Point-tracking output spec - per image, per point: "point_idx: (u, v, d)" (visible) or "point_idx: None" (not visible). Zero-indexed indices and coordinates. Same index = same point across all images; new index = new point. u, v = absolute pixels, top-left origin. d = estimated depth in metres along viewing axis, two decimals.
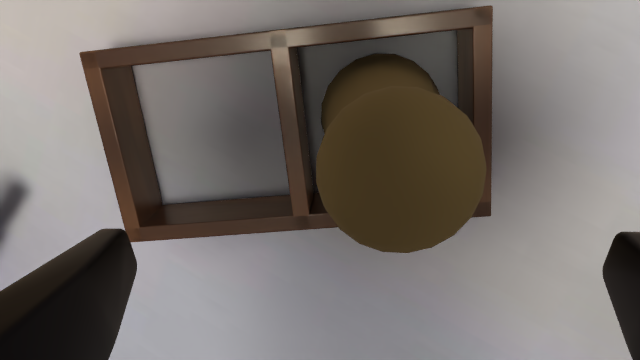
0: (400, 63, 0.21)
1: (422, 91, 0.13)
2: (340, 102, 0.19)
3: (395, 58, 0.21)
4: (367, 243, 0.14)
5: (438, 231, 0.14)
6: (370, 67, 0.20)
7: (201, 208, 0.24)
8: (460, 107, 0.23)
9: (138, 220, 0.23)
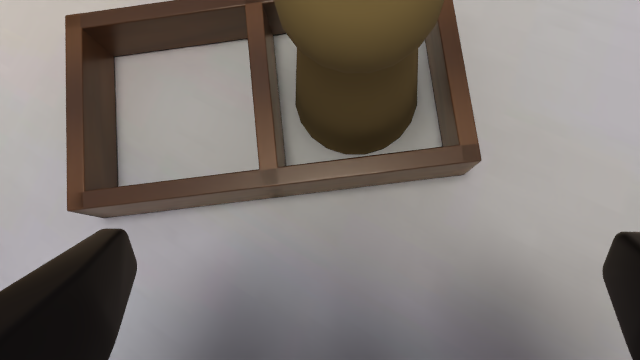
0: None
1: None
2: None
3: None
4: (324, 22, 0.12)
5: None
6: None
7: None
8: (434, 79, 0.22)
9: (84, 183, 0.20)
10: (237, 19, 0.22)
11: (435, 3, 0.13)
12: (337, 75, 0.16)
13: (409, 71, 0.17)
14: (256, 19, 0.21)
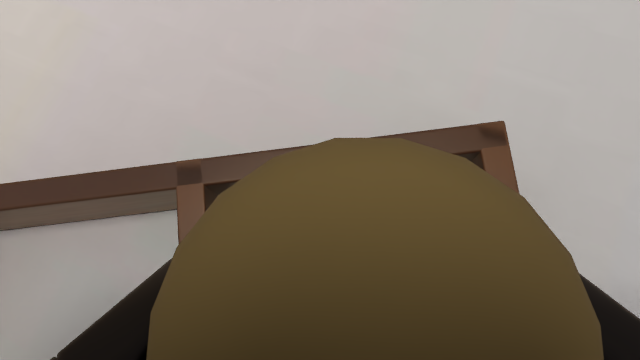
0: None
1: None
2: None
3: None
4: None
5: None
6: None
7: None
8: None
9: None
10: (169, 198, 0.14)
11: None
12: None
13: None
14: (193, 214, 0.13)
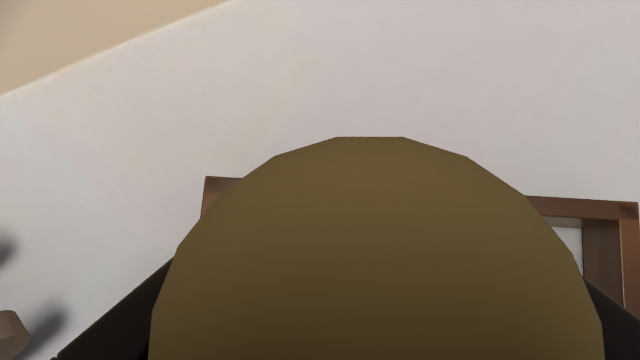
0: None
1: None
2: None
3: None
4: None
5: None
6: None
7: None
8: None
9: None
10: None
11: None
12: None
13: None
14: None
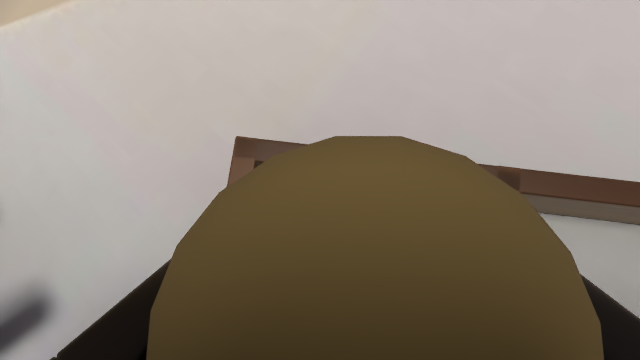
0: None
1: None
2: None
3: None
4: None
5: None
6: None
7: None
8: None
9: None
10: None
11: None
12: None
13: None
14: None
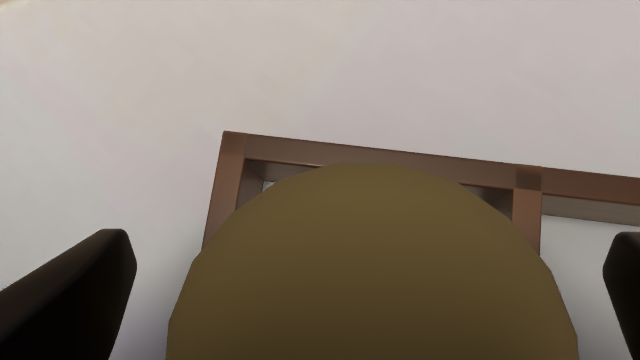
0: None
1: None
2: None
3: None
4: None
5: None
6: None
7: None
8: None
9: None
10: (481, 195, 0.14)
11: None
12: None
13: None
14: (529, 220, 0.13)
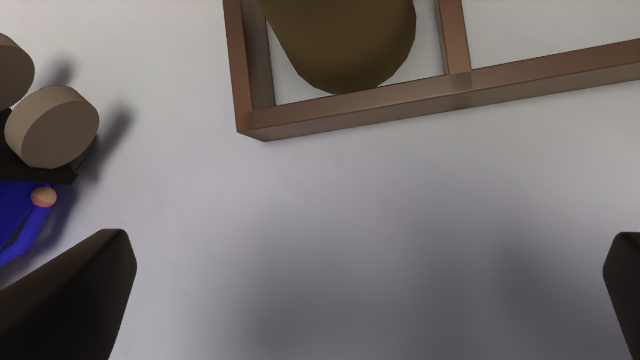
0: None
1: None
2: None
3: None
4: None
5: None
6: None
7: None
8: None
9: (251, 102, 0.19)
10: None
11: None
12: (297, 8, 0.14)
13: None
14: None
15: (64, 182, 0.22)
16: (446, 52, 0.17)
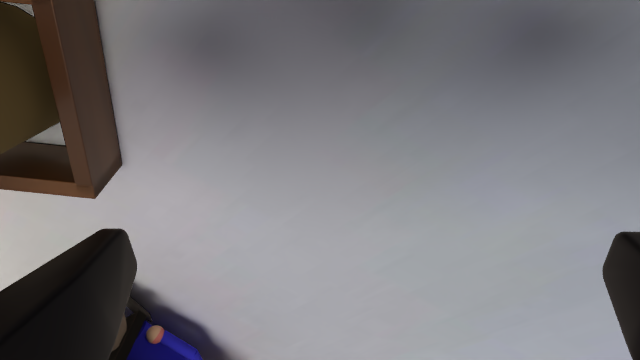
0: None
1: None
2: None
3: None
4: None
5: None
6: None
7: None
8: None
9: (67, 181, 0.21)
10: None
11: None
12: None
13: None
14: None
15: (142, 320, 0.27)
16: (9, 1, 0.17)
